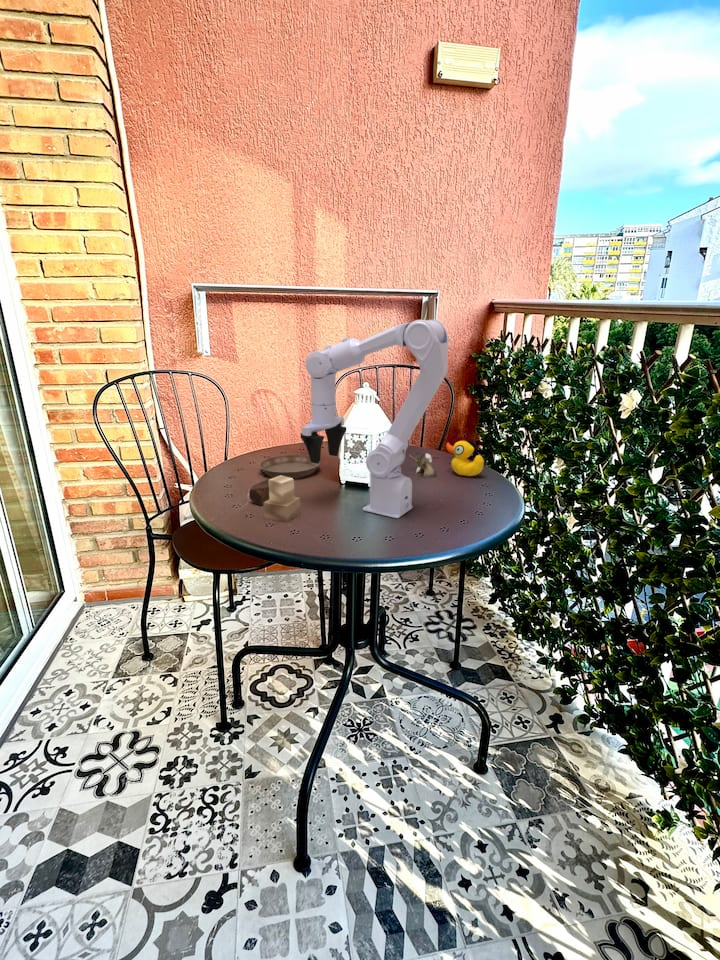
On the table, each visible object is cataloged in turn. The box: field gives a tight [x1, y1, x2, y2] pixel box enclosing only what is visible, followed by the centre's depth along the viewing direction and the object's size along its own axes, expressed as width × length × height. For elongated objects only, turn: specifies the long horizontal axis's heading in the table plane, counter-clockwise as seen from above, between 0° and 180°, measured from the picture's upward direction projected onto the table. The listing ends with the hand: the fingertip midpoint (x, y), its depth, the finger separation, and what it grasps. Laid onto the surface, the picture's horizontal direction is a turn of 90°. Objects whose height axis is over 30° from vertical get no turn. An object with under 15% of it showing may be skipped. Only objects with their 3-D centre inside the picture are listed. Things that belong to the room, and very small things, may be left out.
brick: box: [248, 476, 278, 506], centre depth 123 cm, size 11×4×5 cm, turn 146°
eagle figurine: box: [409, 452, 437, 479], centre depth 143 cm, size 8×7×9 cm
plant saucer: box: [258, 454, 321, 479], centre depth 144 cm, size 18×18×3 cm
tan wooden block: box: [263, 496, 301, 523], centre depth 112 cm, size 6×6×4 cm
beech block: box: [268, 475, 296, 504], centre depth 111 cm, size 4×4×5 cm
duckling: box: [445, 440, 485, 477], centre depth 140 cm, size 11×5×10 cm, turn 58°
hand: (324, 458), depth 120 cm, fingers open, 7 cm apart
